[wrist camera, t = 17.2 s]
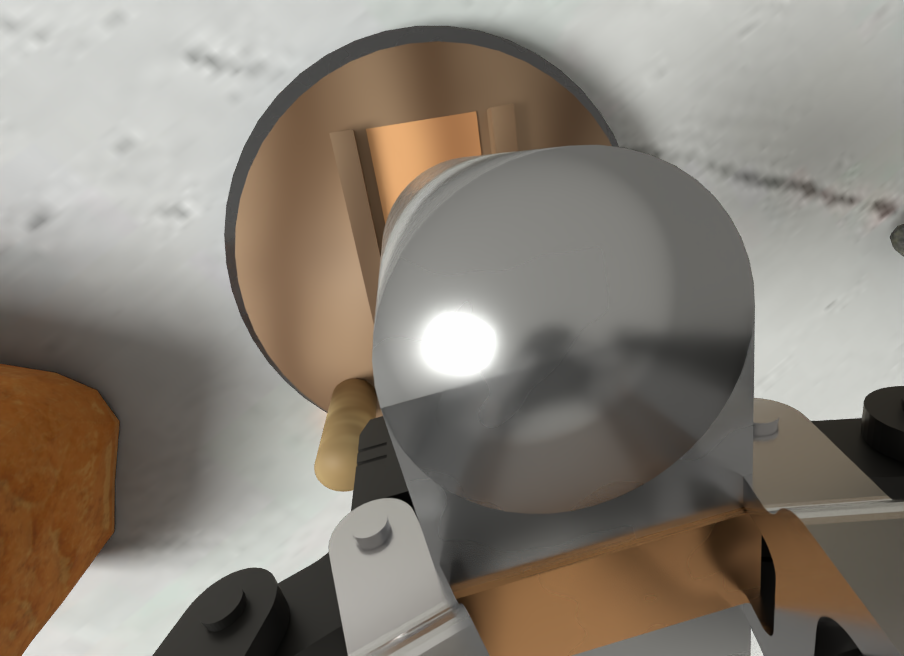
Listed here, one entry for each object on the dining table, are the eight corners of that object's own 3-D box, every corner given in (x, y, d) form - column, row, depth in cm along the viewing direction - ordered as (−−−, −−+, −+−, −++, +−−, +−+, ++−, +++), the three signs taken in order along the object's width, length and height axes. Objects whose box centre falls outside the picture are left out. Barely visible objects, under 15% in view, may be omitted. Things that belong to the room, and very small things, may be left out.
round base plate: (602, -13, 22) (620, -27, 20) (637, 376, 30) (652, 388, 28) (159, 93, 21) (139, 87, 20) (315, 464, 29) (310, 482, 28)
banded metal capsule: (544, 135, 10) (771, 93, 4) (601, 524, 14) (755, 785, 8) (356, 183, 9) (304, 211, 4) (469, 562, 13) (529, 858, 8)
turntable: (617, 20, 21) (728, -51, 14) (624, 391, 28) (701, 465, 21) (183, 85, 20) (71, 42, 13) (305, 457, 27) (275, 559, 20)
